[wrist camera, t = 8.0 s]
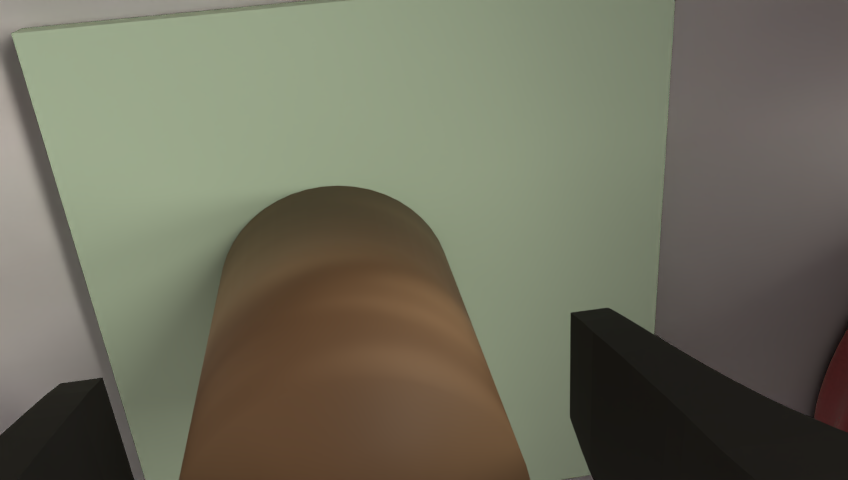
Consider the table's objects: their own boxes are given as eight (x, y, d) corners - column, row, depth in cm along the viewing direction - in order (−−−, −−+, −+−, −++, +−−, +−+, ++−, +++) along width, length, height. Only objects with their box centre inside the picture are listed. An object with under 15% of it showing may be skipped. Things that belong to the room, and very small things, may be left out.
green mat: (664, -35, 14) (677, -32, 13) (637, 451, 18) (645, 465, 18) (21, 28, 12) (11, 33, 12) (167, 527, 17) (164, 544, 17)
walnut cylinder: (442, 171, 14) (530, 352, 9) (456, 369, 16) (535, 619, 10) (198, 201, 14) (130, 411, 8) (243, 401, 15) (211, 678, 10)
